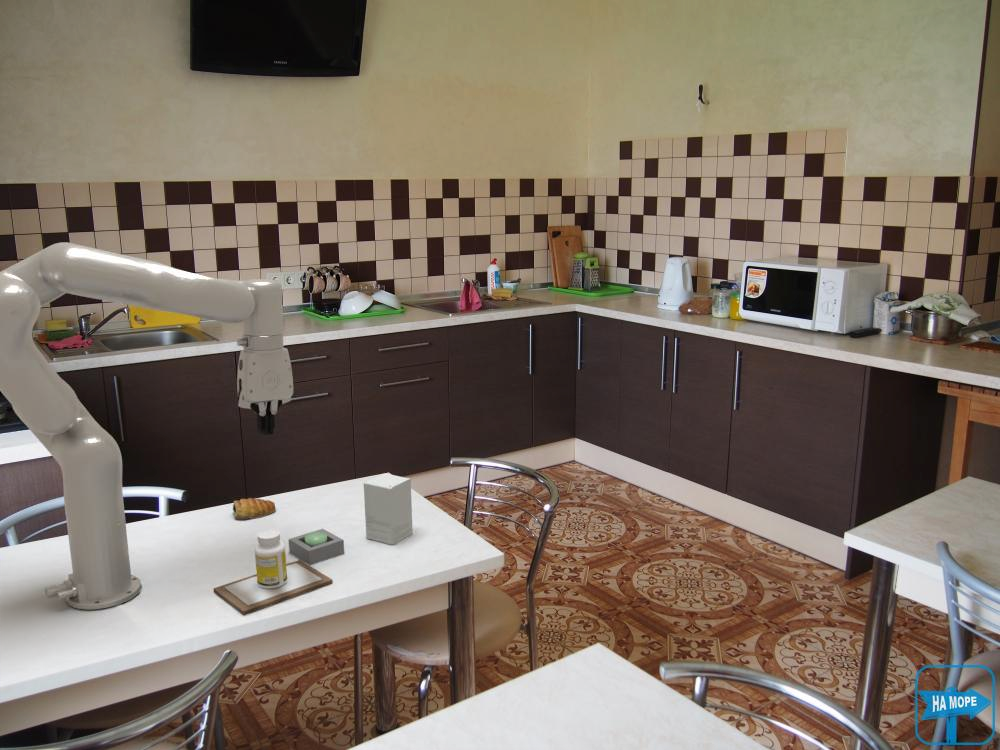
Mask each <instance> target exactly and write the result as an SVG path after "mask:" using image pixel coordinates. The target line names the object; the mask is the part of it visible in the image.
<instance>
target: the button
mask: <svg viewBox="0 0 1000 750" xmlns="http://www.w3.org/2000/svg"><path fill="white" fill-rule="evenodd" d="M312 532H313V531H312ZM308 533H309V534H307V533H306V534H307V535H306V536H305V544H307V545H308V546H310V547H314V546H317V545H320V544H323V543H326V542H327V534H325V533H323V532H313V533H310V532H308Z"/></svg>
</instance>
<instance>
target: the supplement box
mask: <svg viewBox="0 0 1000 750" xmlns="http://www.w3.org/2000/svg"><path fill="white" fill-rule="evenodd" d="M411 481H412V479H411V478H410V477H404V476H399V475H394V474H389V473H382V474H380V475H378V476H375V477H374V478H371V479H369V480H367V481H365V482H363V493H364V494H363V496H364V499H363V500H364V517H365V538H366V539H369V540H372V541H376V542H380V543H384V544H387V545H395V544H396V543H399V542H401V541H402V540H404V539H406V538H407V537H409V536H411V535H412V534H413V510H412V509H413V507H412V505H413V504H412V482H411Z"/></svg>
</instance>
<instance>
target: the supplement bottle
mask: <svg viewBox="0 0 1000 750" xmlns="http://www.w3.org/2000/svg"><path fill="white" fill-rule="evenodd" d="M257 543H258V544H257V545H256V546H255V548H254V557H255V568H256V574H257V582H258V585H259V586H260V587H262V588H265V589H273V588H277V587H280V586H282V585H284V584H285V583H286V582H287V569H286V564H287V561H286V560H287V557H286V546H285V543H284V542H282V541H281V533H280V531H278V530H277V529H276V530H275V529H268V530H263V531H261V532H259V533H258V534H257Z"/></svg>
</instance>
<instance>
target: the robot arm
mask: <svg viewBox="0 0 1000 750" xmlns="http://www.w3.org/2000/svg"><path fill="white" fill-rule="evenodd" d="M66 294H70V295H75V296H78V297H79V296H80V297H85V298H90V299H95V300H102V301H105V302H106V301H107V302H113V303H118V304H123V305H127V306H133V307H137V308H142V309H143V308H144V309H148V310H153V311H157V312H158V311H159V312H167V313H175V314H181V315H184V316H189V317H195V318H200V319H205V320H210V321H215V322H222V323H227V324H239V323H242V337H240V338H237V339H236V344H237V347H242V348H243V349H241V350H240V354H239V356H238V357H239V358H238V365H237V383H236V384H237V385H236V387H237V389H236V390H237V397H238V398H239V399H238V404H237V405H238V407H239V408H242V409H249V410H251V411H252V412H254V413H255V414H256V429H257V431H258V432H259V434H261V435H264V436H268V435H274V429H275V426H276V425H275V423H276V422H275V415H277V413H278V410H279V408H280V407H281V406H282V405H284V404H286V403H289V402H291V400H292V396H293V394H294V378H293V369H292V362H291V358H290V354H289V350H288V348H286V347H284V323H283V320H284V319H283V287H282V284H281V283H280V282H279V281H278V280H276V279H270V278H254V279H253V278H251V279H248V280H238V279H237V280H236V279H227V278H216V277H215V278H214V277H211V276H205V275H203V274H198V273H193V272H189V271H185V270H182V269H179V268H175V267H173V266H170V265H167V264H164V263H163V262H162V263H161V262H157V261H154V260H150V259H144V258H142V257H141V258H140V257H136V256H132V255H126V254H122V253H118V252H112V251H107V250H103V249H100V248H99V249H98V248H95V247H90V246H85V245H82V244H76V243H72V242H66V241H65V242H57V243H53V244H51V245H49V246H47V247H46V248H43V249H41V250H39V251H38V252H36V253H34V254H32V255H30V256H28V257H26V258H24V259H23V260H21V261H19V262H16V263H15V264H12V265H11V266H8V267H7V268H5V269H3V270H1V271H0V392H1V393H2V396H4V397H5V399H6V400H7V401H8V402H9V403H10V404H11V407H12V409H13V411H14V413H15V414H16V416H17V417H18V418H19V419H20V421H22V423H23V424H24V425H25V426H26V427H27V428H28V429H29V430H30V431H31V433H32V434H33V435H34V436H35V438H36V439H38V441H39V442H40V443H41V444H42V445H43V447H44V448H45V449H46V451H48V452H49V453H50V455H51V456H52V457H53V459H54V460H55V461H56V462H57V464H58V465H59V467H60V469H61V474H62V481H63V482H62V483H63V485H62V486H63V503H64V504H63V505H64V513H65V520H66V527H67V528H66V529H67V535H68V542H69V543H68V545H69V552H70V559H71V568H72V573H69V574H68V575H67V577H68V579H67V580H63V582H62V583H59V584H55V585H52V586H47V587H45V588H44V594H45V597H46V599H48V600H49V599H51V598H54V597H57V600H58V601H60V600H64V599H65V600H66V604H68V605H69V606H70V607H73V609H78V610H87V611H88V610H89V611H90V610H101V609H107V608H111V607H115V606H117V605H121V604H123V603H126V602H128V601H129V600H132V599H133V598H135V597H136V596H137V595H138V594H139V593H140V591H141V590H142V581H141V579H140V578H139V577H138V576H136V575H133V574H132V571H131V562H130V561H131V560H130V553H129V541H128V534H127V522H126V515H125V505H124V503H125V502H124V497H123V496H124V494H123V458H122V453H121V450H120V447H119V445H118V443H117V441H116V440H115V439H114V437H113V436H112V435H111V434H110V433H109V432H108V431H107V430H105V429H104V428H103V427H102V426H101V425H100V424H99V423H98V421H96V420H95V418H94V417H93V416H92V415H91V414H90V412H89V410H87V408H86V407H85V406H84V405H83V403H81V401H80V399H78V395H77V394H76V392H75V390H74V389H73V388H72V387H71V386H70V385H69V384H68V383H67V382H66V381H65V380H64V379H63V378H62V377H60V375H59V374H58V373H57V372H56V371H55V369H54V368H53V367H52V366H51V364H50V363H49V362H48V360H47V359H46V358H45V356H44V355H43V353H42V352H41V351H40V349H39V348H38V346H36V343H35V342H34V339H33V338H34V337H33V329H34V325H35V324H36V322H37V320H38V317H39V316H40V312H41V308H42V307H44V306H46V305H48V304H50V303H51V302H53V301H55V300H57V299H58V298H61V297H62V296H63V295H66Z"/></svg>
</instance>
